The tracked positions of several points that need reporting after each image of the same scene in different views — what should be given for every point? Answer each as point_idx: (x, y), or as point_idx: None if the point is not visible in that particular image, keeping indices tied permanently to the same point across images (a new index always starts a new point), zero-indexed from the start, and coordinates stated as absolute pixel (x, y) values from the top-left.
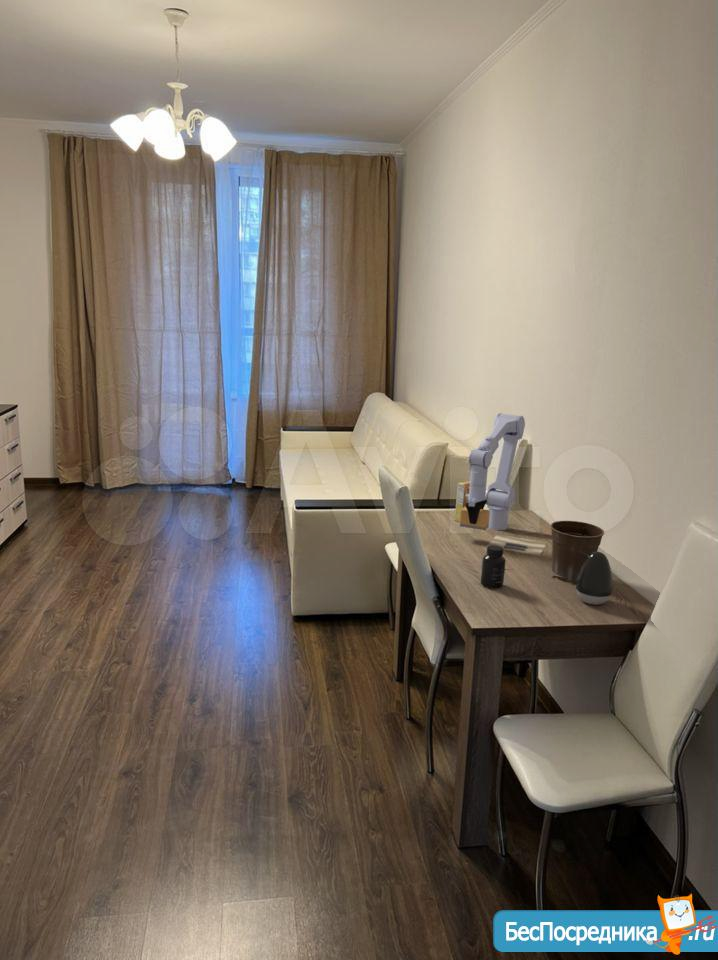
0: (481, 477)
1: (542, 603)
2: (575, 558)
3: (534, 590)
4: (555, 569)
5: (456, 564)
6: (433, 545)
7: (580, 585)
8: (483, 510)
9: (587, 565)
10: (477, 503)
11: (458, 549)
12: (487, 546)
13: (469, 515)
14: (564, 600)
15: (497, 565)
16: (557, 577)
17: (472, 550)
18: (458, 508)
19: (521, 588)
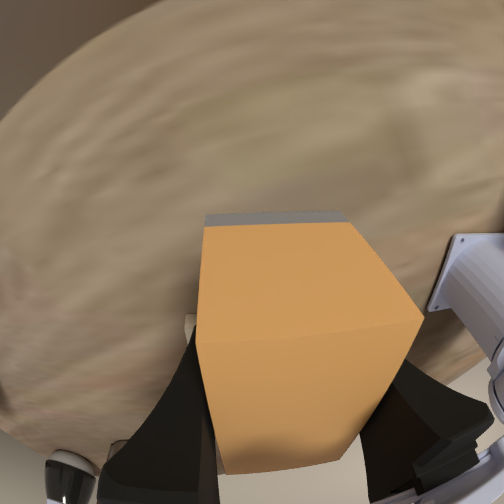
0: None
1: (5, 414)
2: None
3: (29, 413)
4: (111, 456)
5: None
6: (97, 55)
7: (45, 468)
8: (313, 451)
9: (47, 498)
10: (392, 455)
11: (115, 201)
12: (191, 330)
13: (172, 386)
14: (41, 436)
15: None
16: (111, 445)
17: (149, 264)
18: None
19: (14, 399)
